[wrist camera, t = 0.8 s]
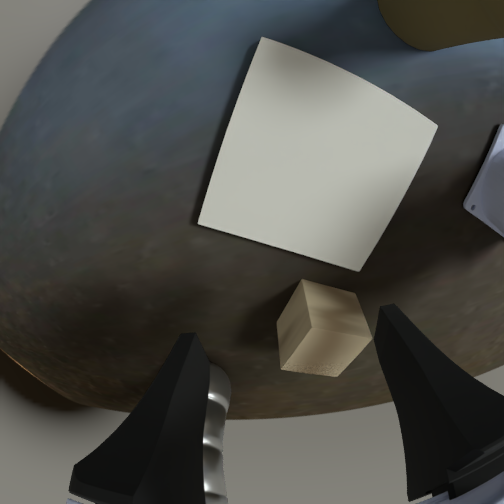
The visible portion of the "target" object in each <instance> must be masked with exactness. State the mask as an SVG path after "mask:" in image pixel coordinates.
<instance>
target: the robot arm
mask: <svg viewBox="0 0 504 504" xmlns="http://www.w3.org/2000/svg"><path fill="white" fill-rule="evenodd" d="M472 205H473V206H472ZM471 206H472V208H471ZM463 207H464V208H465V209H466V210H467V211H468V212H470V213H471V214H473V215H474V216H476V217H477V218H478V219H480V220H481V221H483V222H484V223H485V224H487V225H488V226H489V227H491V228H492V229H493V230H495V231H496V232H497V233H499V234H500V235H501V236H503V237H504V124H501V125H500V126H499V128H498V131H497V133H496V136H495V138H494V140H493V143H492V145H491V147H490V150H489V152H488V154H487V156H486V159H485V161H484V163H483V165H482V167H481V169H480V171H479V173H478V175H477V177H476V179H475V181H474V183H473V185H472V187H471V189H470V191H469V193H468V195H467V197H466V199H465V200H464V203H463ZM374 342H375V346H376V351H377V354H378V358H379V362H380V365H381V368H382V370H383V373H384V376H385V379H386V381H387V384H388V387H389V389H390V392H391V395H392V398H393V401H394V404H395V406H396V410H397V414H398V418H399V422H400V428H401V433H402V439H403V446H404V453H405V462H406V472H407V473H406V474H407V496H408V501H409V502H410V501H413V500H416V499H418V498H421V497H424V496H426V495H429V494H431V493H432V496H433V497H432V498H430V499H427V500H425V501H423V502H420V503H417V504H504V396H503V395H501V394H499V393H498V392H496V391H494V390H492V389H490V388H489V387H487V386H486V385H484V384H483V383H481V382H479V381H478V380H476V379H475V378H473V377H472V376H471V375H469V374H468V373H467V372H465V371H464V370H463V369H461V368H460V367H459V366H458V365H456V364H455V363H454V362H453V361H452V360H450V359H449V358H448V357H447V356H446V355H445V354H444V353H443V352H441V351H440V350H439V349H438V348H437V347H436V346H435V345H434V344H433V343H432V342H431V341H430V340H429V339H428V338H427V337H426V336H425V335H424V334H423V333H422V332H421V331H420V330H419V329H418V328H417V327H416V326H415V325H414V324H413V323H412V322H411V321H410V320H409V318H408V317H407V316H406V315H405V314H404V313H403V312H402V311H401V310H400V309H399V308H398V307H397V306H396V305H395V304H390V305H385V306H380V310H379V316H378V321H377V326H376V332H375V337H374ZM209 386H210V362H209V360H208V358H207V356H206V354H205V351H204V349H203V347H202V345H201V343H200V341H199V339H198V336H197V334H196V333H184V334H181V335H180V336H179V338H178V340H177V341H176V343H175V345H174V347H173V349H172V350H171V352H170V354H169V356H168V358H167V359H166V361H165V363H164V365H163V366H162V368H161V370H160V371H159V373H158V375H157V376H156V378H155V379H154V381H153V383H152V384H151V386H150V387H149V389H148V390H147V392H146V393H145V395H144V396H143V398H142V399H141V400H140V402H139V403H138V404H137V406H136V407H135V408H134V410H133V411H132V412H131V413H130V415H129V416H128V417H127V418H126V419H125V420H124V421H123V423H122V424H121V425H120V426H119V427H118V428H117V429H116V430H115V431H114V432H113V433H112V434H111V435H110V436H109V437H108V438H107V439H106V440H105V441H104V442H103V443H102V444H101V445H100V446H99V447H98V448H96V449H95V450H94V451H93V452H91V453H90V454H89V455H88V456H86V457H85V458H84V459H82V460H81V461H79V462H78V463H77V464H75V465H74V468H73V472H72V476H71V481H70V486H69V492H70V493H71V494H74V495H76V496H78V497H81V498H84V499H86V500H88V501H91V502H94V503H95V504H206V500H205V489H204V473H203V435H204V426H205V418H206V410H207V402H208V395H209ZM66 504H82V503H80V502H77V501H74V500H72V499H67V502H66Z"/></svg>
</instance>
